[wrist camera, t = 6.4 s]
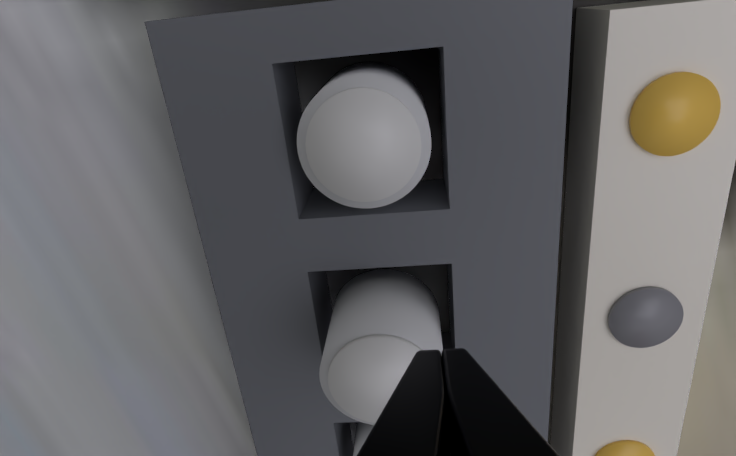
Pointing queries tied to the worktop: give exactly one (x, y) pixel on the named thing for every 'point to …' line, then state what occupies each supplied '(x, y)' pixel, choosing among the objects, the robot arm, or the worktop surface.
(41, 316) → the worktop surface
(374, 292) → the button
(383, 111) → the button
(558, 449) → the tile
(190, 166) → the board
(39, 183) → the worktop surface
